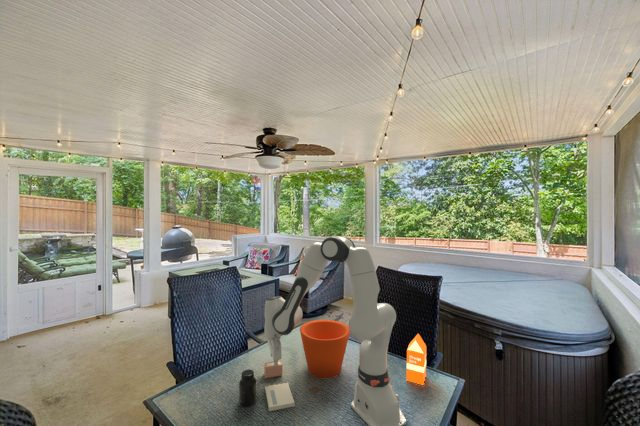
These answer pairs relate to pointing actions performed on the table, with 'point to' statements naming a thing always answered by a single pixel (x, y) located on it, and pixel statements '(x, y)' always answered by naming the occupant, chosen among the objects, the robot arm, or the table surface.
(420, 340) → the orange juice
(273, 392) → the cream flat block
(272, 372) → the pink box
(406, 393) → the table surface
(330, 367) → the flowerpot
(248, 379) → the supplement bottle
